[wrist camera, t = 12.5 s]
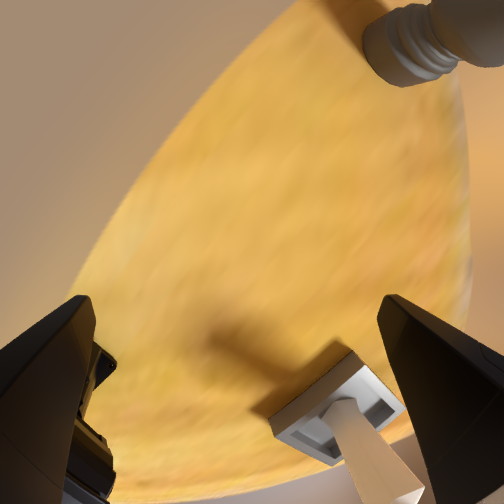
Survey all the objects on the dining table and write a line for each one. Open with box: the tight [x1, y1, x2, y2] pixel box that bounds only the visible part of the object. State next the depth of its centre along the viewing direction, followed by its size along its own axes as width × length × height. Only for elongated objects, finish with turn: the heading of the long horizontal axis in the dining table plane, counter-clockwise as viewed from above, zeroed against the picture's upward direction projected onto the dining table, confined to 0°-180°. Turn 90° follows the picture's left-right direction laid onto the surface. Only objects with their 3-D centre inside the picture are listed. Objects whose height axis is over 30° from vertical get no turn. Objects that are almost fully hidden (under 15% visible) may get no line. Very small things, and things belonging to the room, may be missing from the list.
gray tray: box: [268, 350, 406, 466], centre depth 27 cm, size 10×10×2 cm
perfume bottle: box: [321, 398, 425, 504], centre depth 20 cm, size 5×4×15 cm
